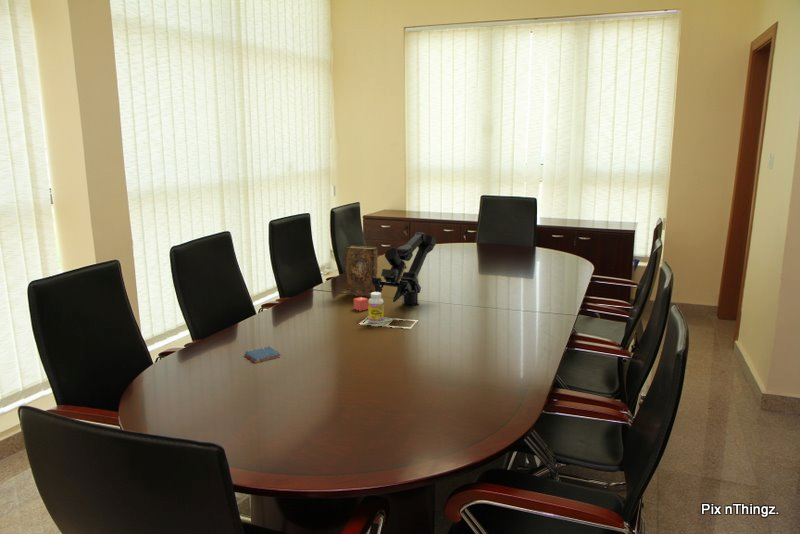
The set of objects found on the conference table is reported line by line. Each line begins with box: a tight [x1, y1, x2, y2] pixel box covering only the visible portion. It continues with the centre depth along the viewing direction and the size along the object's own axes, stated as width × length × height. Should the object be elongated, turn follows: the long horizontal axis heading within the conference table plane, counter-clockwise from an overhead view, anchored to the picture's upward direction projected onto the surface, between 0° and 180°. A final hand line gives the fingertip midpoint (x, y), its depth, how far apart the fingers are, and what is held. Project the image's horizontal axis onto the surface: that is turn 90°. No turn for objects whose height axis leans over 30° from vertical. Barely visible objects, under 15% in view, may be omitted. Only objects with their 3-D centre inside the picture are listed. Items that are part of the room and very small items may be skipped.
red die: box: [353, 296, 369, 312], centre depth 287 cm, size 5×5×6 cm
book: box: [344, 245, 379, 298], centre depth 311 cm, size 16×6×25 cm, turn 68°
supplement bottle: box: [368, 292, 385, 323], centre depth 267 cm, size 7×7×13 cm
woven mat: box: [244, 346, 281, 364], centre depth 227 cm, size 10×11×2 cm
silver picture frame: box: [358, 315, 419, 330], centre depth 266 cm, size 23×12×1 cm, turn 73°
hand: (384, 300), depth 273 cm, fingers open, 9 cm apart
